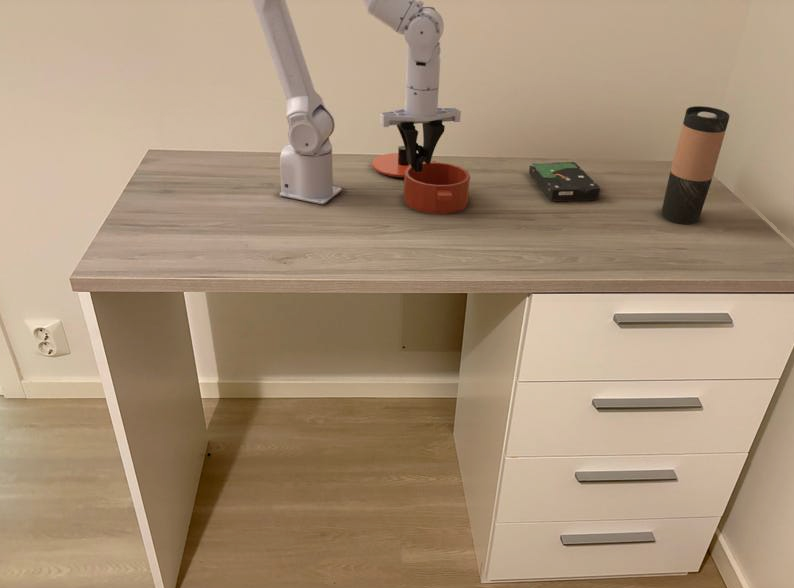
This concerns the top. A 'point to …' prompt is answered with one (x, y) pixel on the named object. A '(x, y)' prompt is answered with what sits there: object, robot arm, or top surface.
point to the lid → (392, 163)
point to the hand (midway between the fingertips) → (418, 162)
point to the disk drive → (564, 181)
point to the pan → (437, 188)
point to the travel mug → (694, 163)
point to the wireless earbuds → (419, 158)
